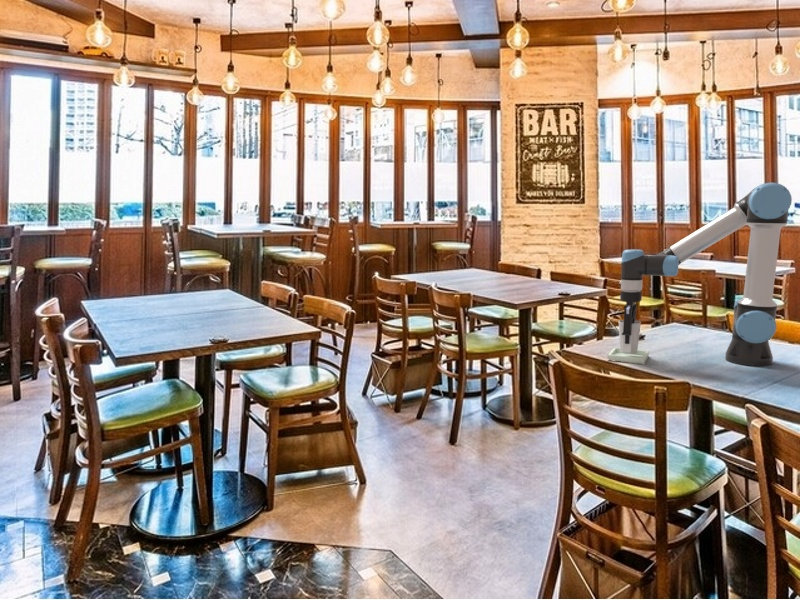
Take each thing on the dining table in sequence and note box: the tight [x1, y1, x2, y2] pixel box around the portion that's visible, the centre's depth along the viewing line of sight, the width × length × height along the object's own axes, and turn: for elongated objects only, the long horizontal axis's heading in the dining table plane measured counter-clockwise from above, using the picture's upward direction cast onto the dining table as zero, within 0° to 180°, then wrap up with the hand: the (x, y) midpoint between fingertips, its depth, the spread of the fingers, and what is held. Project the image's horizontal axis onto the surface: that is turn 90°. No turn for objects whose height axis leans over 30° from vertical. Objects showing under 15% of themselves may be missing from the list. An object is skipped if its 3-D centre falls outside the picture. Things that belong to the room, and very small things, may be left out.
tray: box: [607, 347, 650, 365], centre depth 222 cm, size 13×13×2 cm
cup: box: [618, 319, 642, 354], centre depth 220 cm, size 8×8×12 cm
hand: (628, 349), depth 221 cm, fingers closed on cup, 7 cm apart
